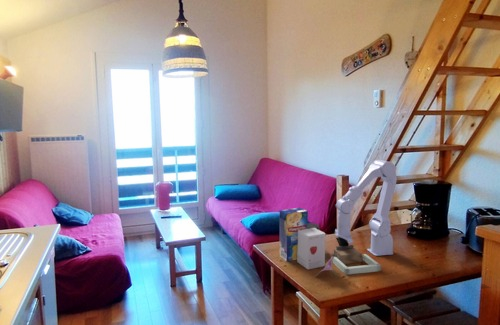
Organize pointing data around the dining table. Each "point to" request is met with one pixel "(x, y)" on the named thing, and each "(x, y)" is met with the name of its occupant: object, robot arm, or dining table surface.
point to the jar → (313, 226)
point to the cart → (347, 254)
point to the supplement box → (311, 248)
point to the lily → (329, 265)
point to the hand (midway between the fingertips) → (343, 253)
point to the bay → (346, 270)
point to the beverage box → (291, 231)
